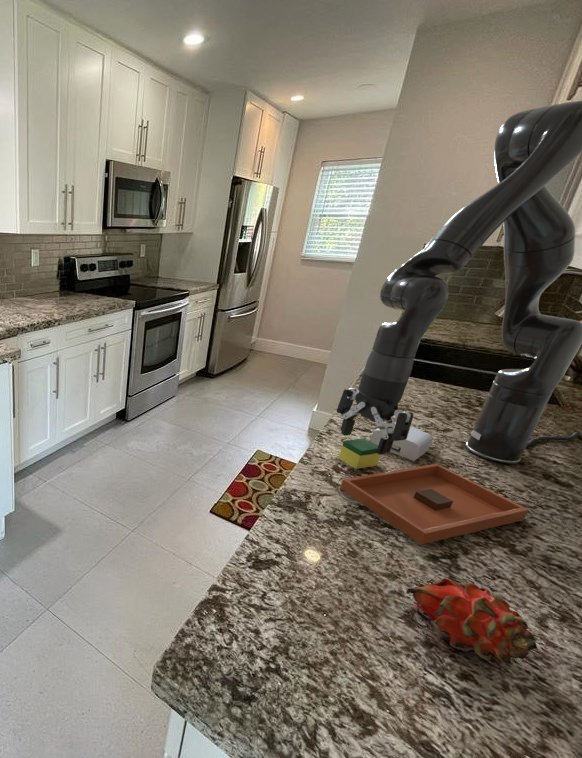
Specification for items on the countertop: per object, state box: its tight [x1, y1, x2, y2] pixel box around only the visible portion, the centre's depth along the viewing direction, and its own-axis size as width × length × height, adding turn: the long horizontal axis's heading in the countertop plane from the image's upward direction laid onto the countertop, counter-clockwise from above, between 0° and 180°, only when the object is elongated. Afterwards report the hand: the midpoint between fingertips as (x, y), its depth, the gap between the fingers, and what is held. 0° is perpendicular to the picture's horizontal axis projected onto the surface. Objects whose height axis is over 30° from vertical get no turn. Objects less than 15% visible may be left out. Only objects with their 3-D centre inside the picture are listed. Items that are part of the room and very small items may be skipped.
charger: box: [369, 421, 434, 462], centre depth 99 cm, size 5×9×15 cm
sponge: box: [338, 437, 381, 470], centre depth 91 cm, size 6×4×5 cm
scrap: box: [414, 489, 453, 511], centre depth 78 cm, size 4×4×2 cm
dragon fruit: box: [405, 577, 538, 666], centre depth 51 cm, size 8×8×12 cm
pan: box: [339, 463, 530, 545], centre depth 78 cm, size 26×16×3 cm, turn 106°
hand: (362, 443), depth 89 cm, fingers open, 8 cm apart
